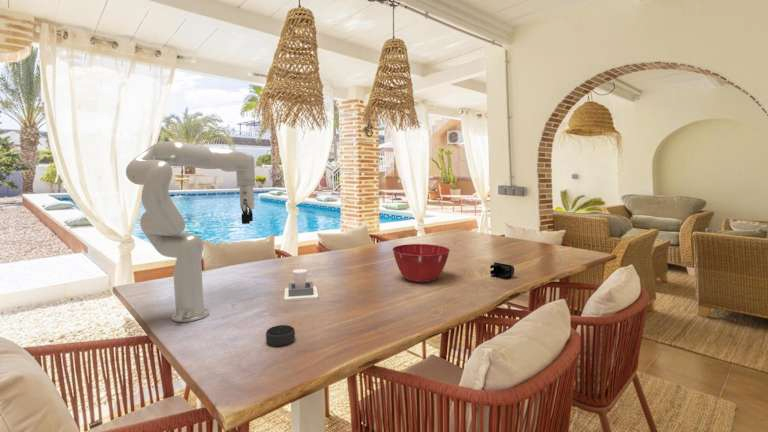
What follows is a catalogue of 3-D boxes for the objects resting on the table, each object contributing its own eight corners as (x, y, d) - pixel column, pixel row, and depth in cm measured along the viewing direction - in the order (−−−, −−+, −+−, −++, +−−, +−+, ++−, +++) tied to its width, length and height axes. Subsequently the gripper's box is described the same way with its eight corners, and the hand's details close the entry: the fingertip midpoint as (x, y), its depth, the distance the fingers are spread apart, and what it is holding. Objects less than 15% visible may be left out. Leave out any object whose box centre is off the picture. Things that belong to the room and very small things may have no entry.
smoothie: (300, 295, 173) (299, 263, 172) (290, 292, 177) (289, 261, 175) (311, 291, 179) (310, 260, 177) (300, 289, 182) (299, 258, 181)
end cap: (514, 277, 203) (514, 264, 203) (506, 280, 199) (507, 266, 198) (497, 274, 211) (497, 261, 210) (489, 276, 206) (489, 263, 205)
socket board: (318, 298, 172) (317, 289, 171) (284, 301, 169) (283, 292, 168) (316, 288, 187) (316, 280, 187) (285, 290, 184) (284, 282, 184)
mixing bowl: (460, 278, 203) (461, 248, 201) (426, 290, 182) (426, 257, 180) (416, 269, 222) (416, 241, 220) (380, 279, 201) (380, 249, 200)
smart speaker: (297, 335, 133) (297, 324, 133) (292, 347, 124) (291, 334, 124) (270, 336, 133) (269, 324, 133) (263, 347, 124) (262, 335, 124)
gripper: (252, 183, 168) (253, 224, 169) (257, 183, 185) (258, 220, 186) (233, 183, 166) (235, 225, 168) (240, 183, 183) (241, 220, 185)
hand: (247, 222), depth 177 cm, fingers open, 9 cm apart
